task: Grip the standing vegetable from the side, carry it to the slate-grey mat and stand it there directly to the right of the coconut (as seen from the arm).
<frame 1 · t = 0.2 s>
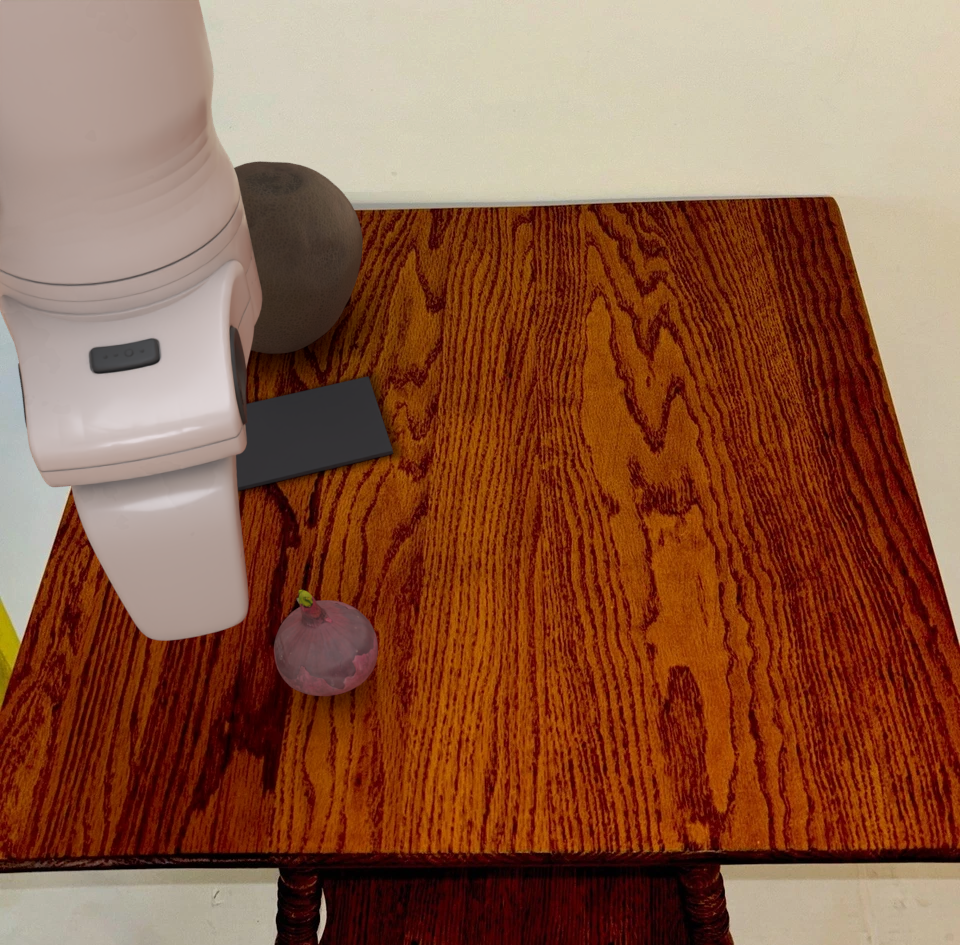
hand: (211, 523, 47), 21 cm above the table, tool pointing down, fingers open, 8 cm apart
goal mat: (306, 432, 81), on the table
vegetable: (335, 683, 66), on the table
coconut: (293, 332, 90), on the table
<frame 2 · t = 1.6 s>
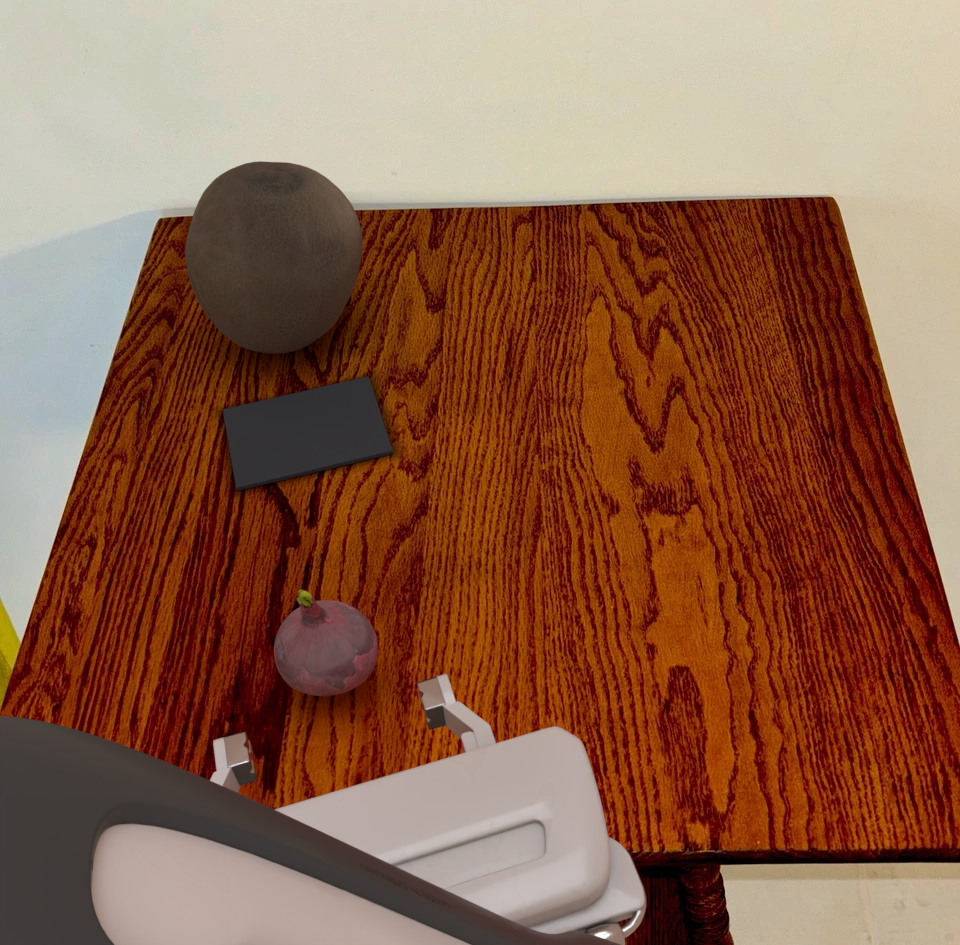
hand: (334, 712, 48), 14 cm above the table, tool horizontal, fingers open, 8 cm apart
nothing on the table moved.
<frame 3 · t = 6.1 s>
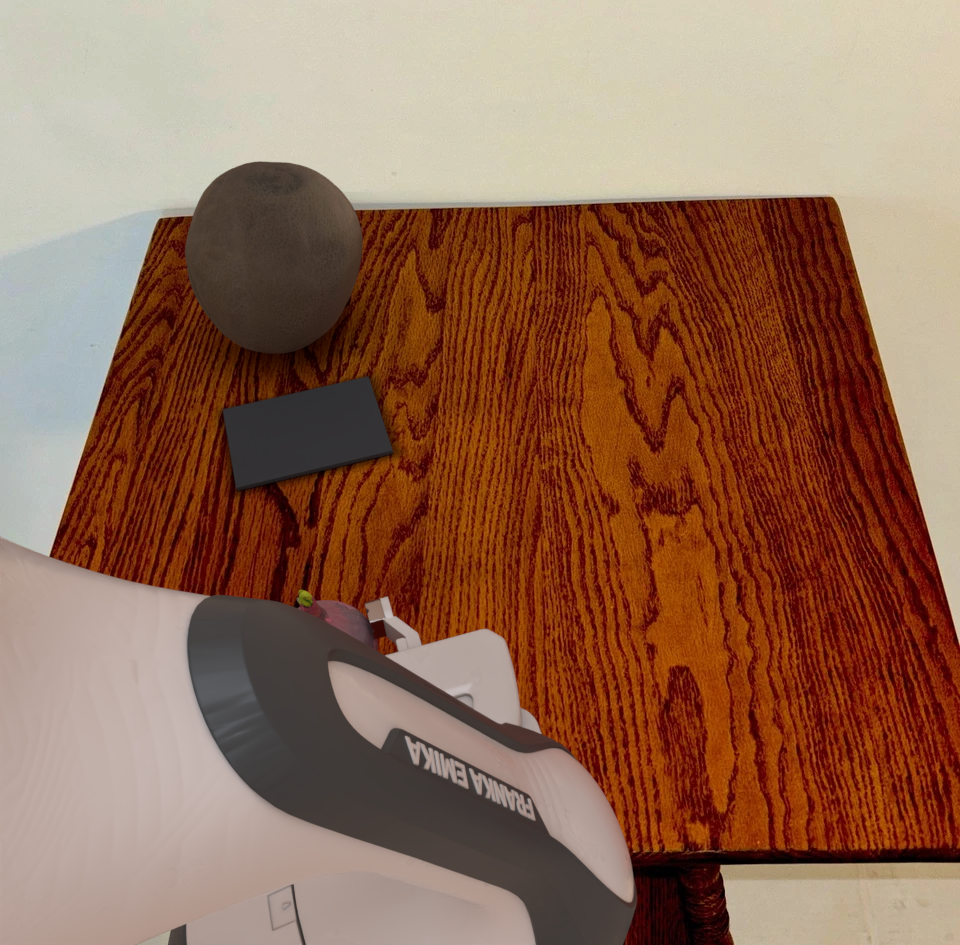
hand: (318, 620, 62), 6 cm above the table, tool horizontal, fingers closed on vegetable, 6 cm apart
vegetable: (336, 683, 66), on the table, touching gripper
everything else where it was.
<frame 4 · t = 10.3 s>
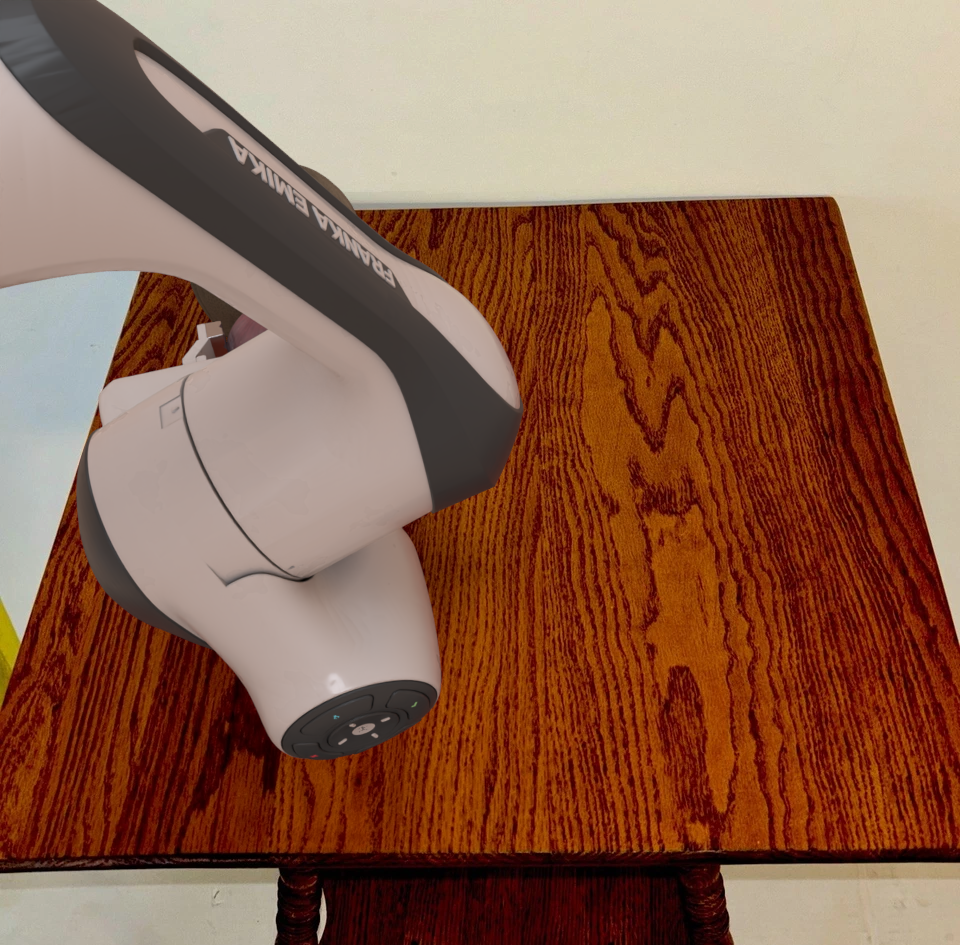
hand: (268, 318, 64), 17 cm above the table, tool horizontal, fingers closed on vegetable, 6 cm apart
vegetable: (289, 396, 67), point 11 cm above the table, touching gripper
everything else where it was.
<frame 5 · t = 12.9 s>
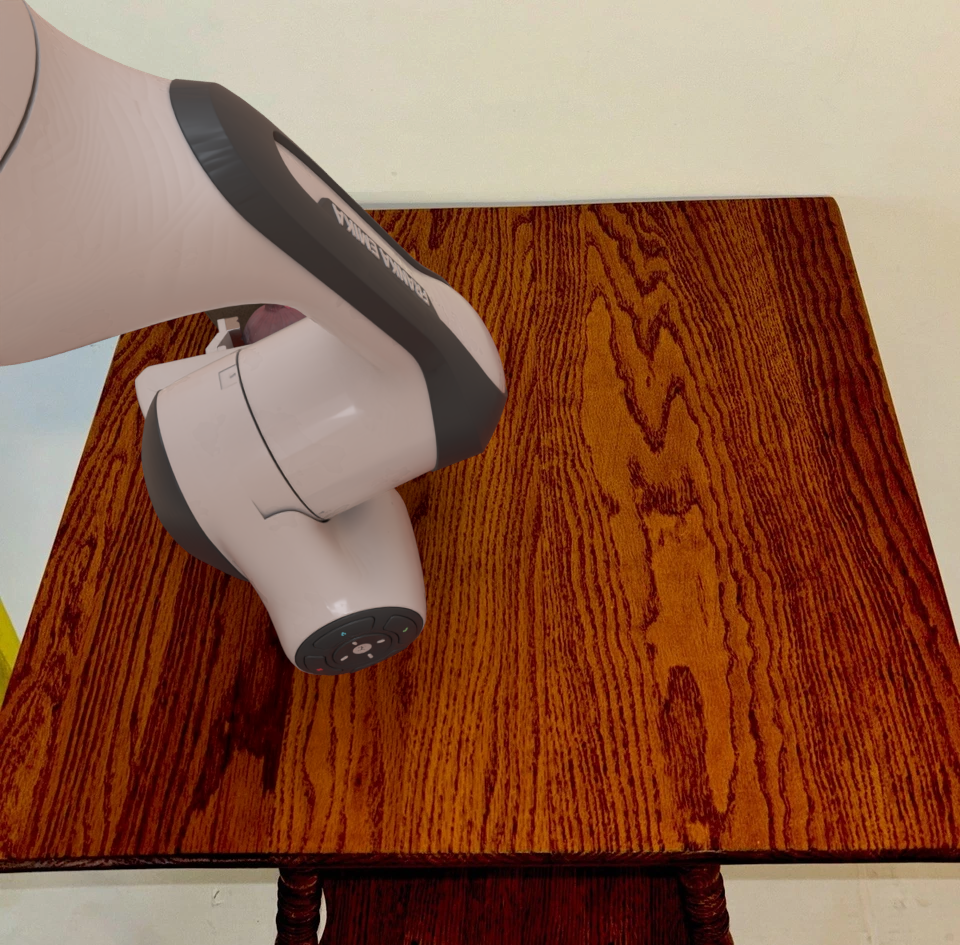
hand: (279, 314, 74), 11 cm above the table, tool horizontal, fingers closed on vegetable, 6 cm apart
vegetable: (296, 382, 77), point 5 cm above the table, touching gripper
everything else where it was.
when the fingers open (6 cm above the table, at t = 14.9 s): vegetable stays where it is, resting on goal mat.
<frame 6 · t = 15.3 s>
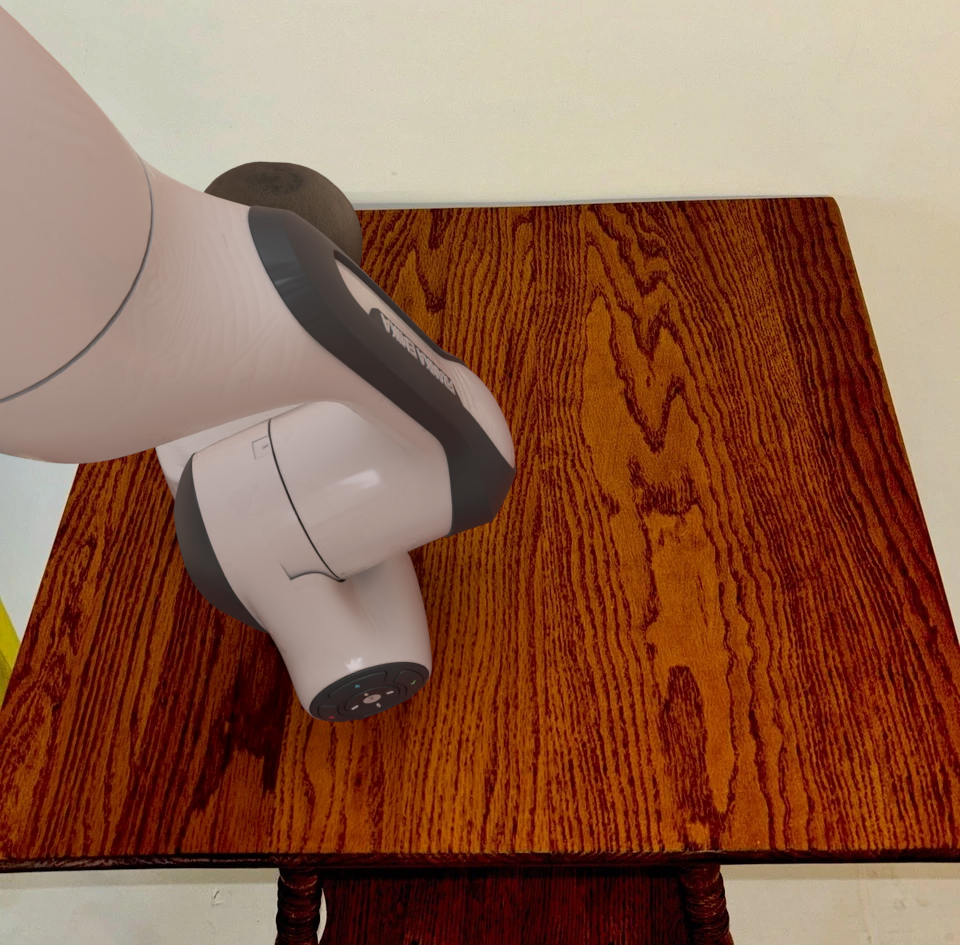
hand: (289, 367, 77), 6 cm above the table, tool horizontal, fingers open, 8 cm apart
vegetable: (308, 431, 81), resting on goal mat
everything else where it was.
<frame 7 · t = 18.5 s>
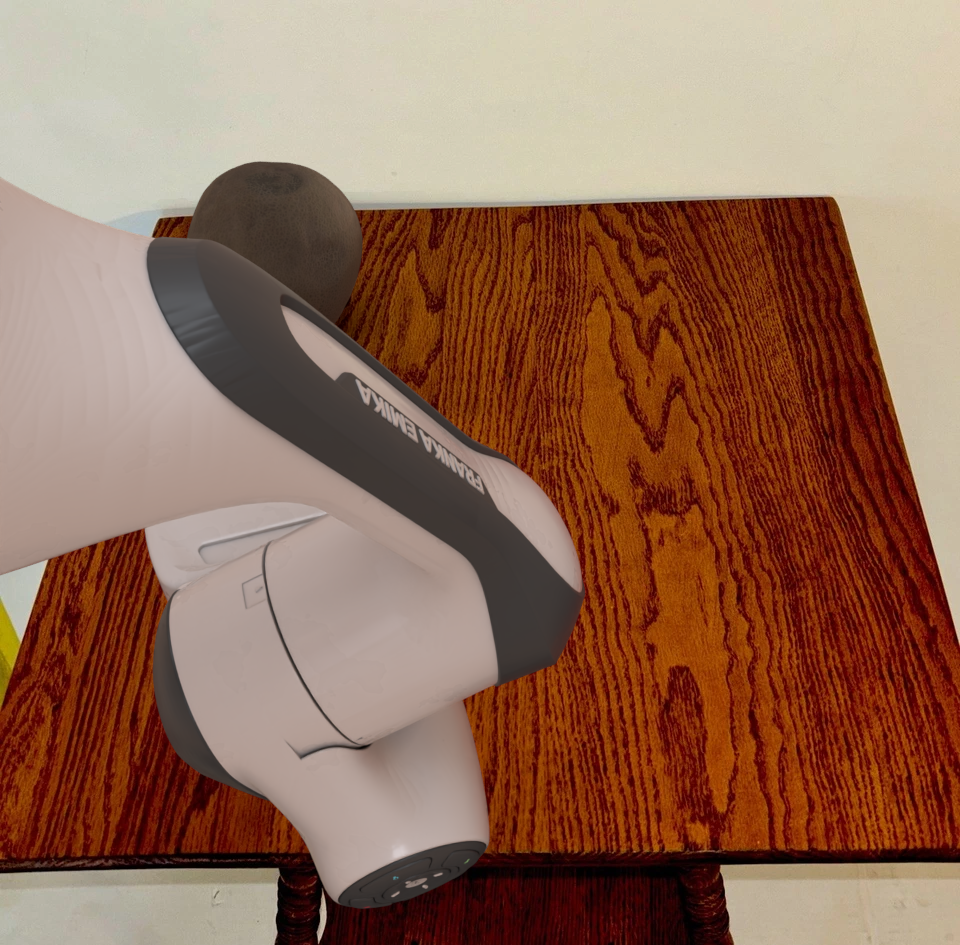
hand: (305, 435, 66), 11 cm above the table, tool horizontal, fingers open, 8 cm apart
nothing on the table moved.
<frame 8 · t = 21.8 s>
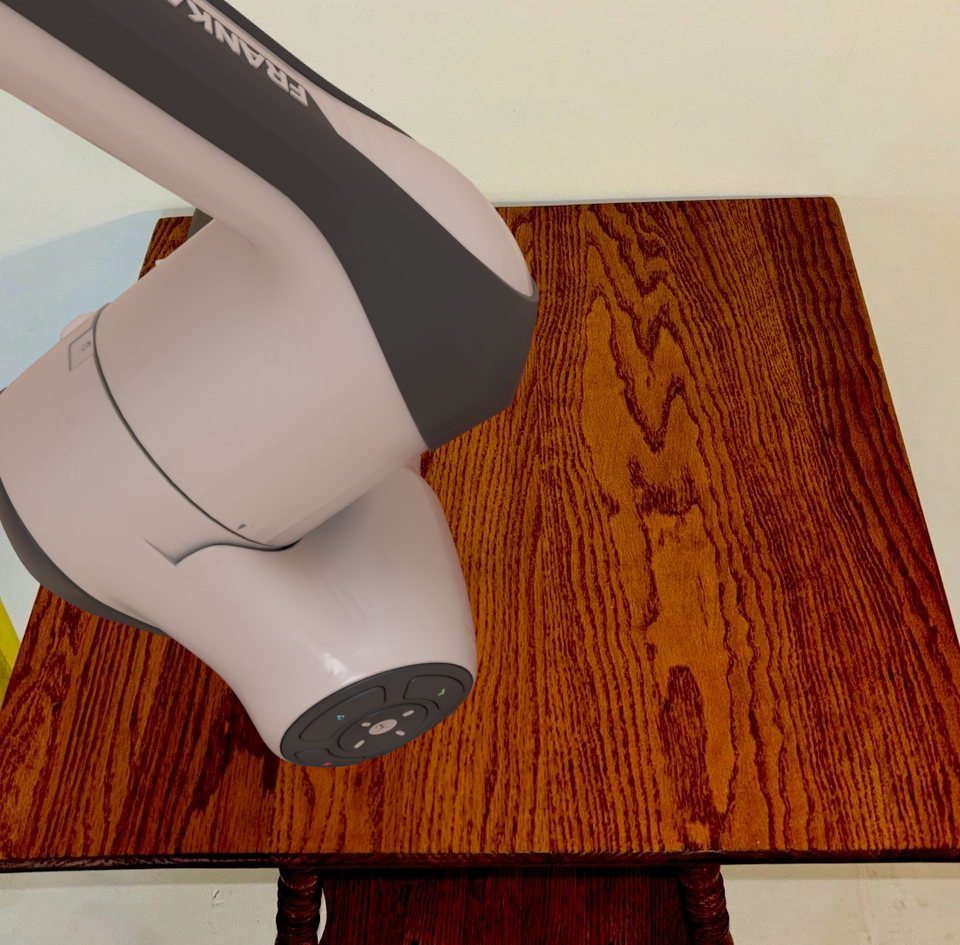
hand: (262, 250, 55), 25 cm above the table, tool horizontal, fingers open, 8 cm apart
nothing on the table moved.
at the end: vegetable inside the target area on the table beside the coconut (0.6 cm from its centre), resting on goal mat; vegetable tilted 0°; the gripper is holding nothing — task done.
